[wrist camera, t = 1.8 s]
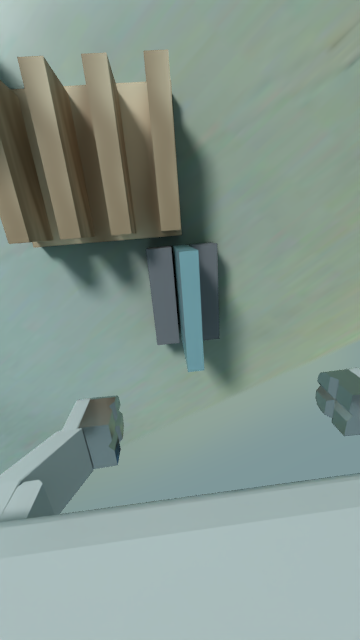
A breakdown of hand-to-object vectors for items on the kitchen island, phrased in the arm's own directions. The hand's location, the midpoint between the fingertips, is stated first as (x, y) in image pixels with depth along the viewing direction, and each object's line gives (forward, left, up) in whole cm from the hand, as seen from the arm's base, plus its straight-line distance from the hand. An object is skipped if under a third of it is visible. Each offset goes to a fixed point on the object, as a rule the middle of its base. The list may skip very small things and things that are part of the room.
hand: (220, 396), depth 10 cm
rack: (+7, -12, -19) cm, 23 cm away
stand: (0, 0, -19) cm, 19 cm away
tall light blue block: (0, 0, -19) cm, 19 cm away
